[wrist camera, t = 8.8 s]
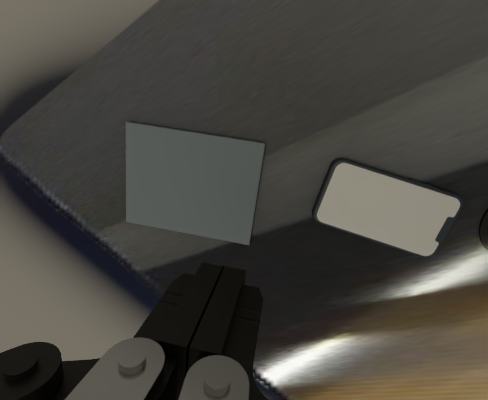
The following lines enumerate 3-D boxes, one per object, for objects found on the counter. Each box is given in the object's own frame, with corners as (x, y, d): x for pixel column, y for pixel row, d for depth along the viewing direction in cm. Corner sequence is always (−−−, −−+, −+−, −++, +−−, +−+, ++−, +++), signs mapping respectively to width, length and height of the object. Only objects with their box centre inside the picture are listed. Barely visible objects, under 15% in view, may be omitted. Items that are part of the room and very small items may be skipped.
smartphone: (308, 217, 38) (426, 256, 37) (309, 222, 36) (432, 262, 36) (334, 153, 35) (461, 194, 35) (336, 155, 34) (469, 198, 33)
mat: (265, 142, 36) (265, 143, 35) (250, 241, 40) (249, 245, 39) (129, 121, 37) (125, 122, 36) (129, 219, 42) (126, 221, 41)
